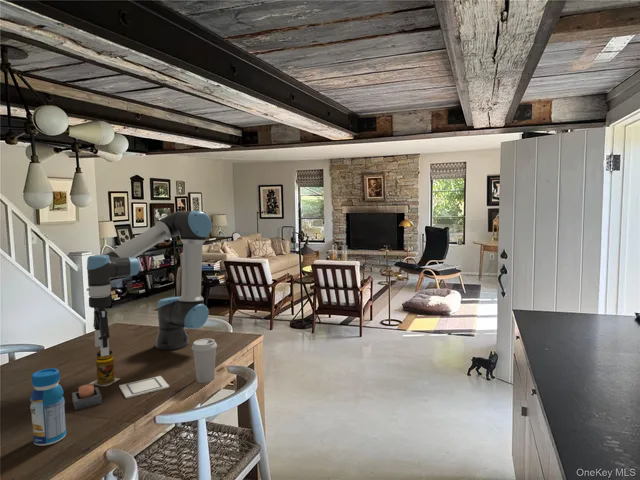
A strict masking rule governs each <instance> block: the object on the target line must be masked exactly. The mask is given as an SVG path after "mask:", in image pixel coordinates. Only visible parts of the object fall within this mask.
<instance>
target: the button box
mask: <svg viewBox="0 0 640 480" xmlns="http://www.w3.org/2000/svg"><path fill="white" fill-rule="evenodd" d="M71 396H72V404H73V408H74V409H75V410H74V411H77V410H82V409H84V408H89V407H94V406H97V405H100V404H101V405H102V404H103V402H102V400H103V399H102V393H101V391H100V390H99V387H98V386H96V387H94V395H93V396H90V397H86V398H79V390H78V391H75V392H71Z"/></svg>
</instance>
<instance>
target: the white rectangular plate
mask: <svg viewBox="0 0 640 480" xmlns="http://www.w3.org/2000/svg"><path fill="white" fill-rule="evenodd" d="M118 388H119V389H120V391H121V393H122V395H123V396H124V397H125V399H129V398H133V397H134V398H135V397H137V396H142V395H146V394H150V393H154V392H158V391H162V390H165V389H170V384H168V383H167V382H166V380H165V379H164V378H163V377H162V376H161V375H158V376H154V377H150V378H145V379H141V380H137V381H133V382H128V383H123V384H119V386H118ZM149 392H150V393H149Z"/></svg>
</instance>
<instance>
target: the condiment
mask: <svg viewBox="0 0 640 480" xmlns="http://www.w3.org/2000/svg"><path fill="white" fill-rule="evenodd" d="M95 363H96V376H97V377H96V378H97V379H95V380H94V381H93V380H92V381H91V382H90V383H88V384H93V385H94V386H99V387H107V386H110V385H112V384H113V383H116V382H117V381H119V380H121V378H119V377H116V376H115V373H116V372H115V358H114V357H113V351H112V350H111V349H109V355H107V356H102V357H101V350H99V351H98V352H96V361H95Z"/></svg>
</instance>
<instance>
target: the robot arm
mask: <svg viewBox="0 0 640 480" xmlns="http://www.w3.org/2000/svg"><path fill="white" fill-rule="evenodd" d="M212 225H213V224H212V221H211V218H210V216H209V215H208V214H207V213H206V212H203V211H199V210H179V211H175V212H173V213H169V215H167V216H165V217H163V218H161V219H160V220H158V221H155V223H154V226H152V227H150V228H149V229H147V230H145V231H143V232H142V233H140V234H138V235H137V236H134V237H133V238H131V239H129V240H128V241H125V242H124V243H123V244H121V245H120V246H118V247H116V248H114V249H113V250H111V251H109V252H107V253H105V254H96V255H95V254H93V255H89V256H88V257H87V260H86V269H87V271H86V272H87V287H88V288H86V291H87V292H88V296H89V297H88V307H89V308H91V309H93V310H94V311H93V329H94V346H95V348H99V347H100V351H101V357H102V356H107V355H109V350H110V341H109V338H110V336H111V335H110V329H109V320H108V311H107V310H106V307H110V306H111V304H112V297H111V294H112V290H111V286H112V285H111V280H112V279H119V278H125V277H126V278H128V277H132V276H137V275H138V274H139V272H140V268H141V267H140V265H141V264H140V262H139V259H138V258H137V257H138V256H140V255H141V254H143V253H144V252H146V251H148V250H149V249H152V248H153V247H154V246H156V245H157V244H160V243H161V242H162V241H164V240H166V241H167V240H168V241H169V240H170V239H171V238H174V237H178V236H179V240H180V242H181V243H182V245H183V247H182V269H181V272H182V273H181V292H180V293H181V295H180V296H171V297H167V298H166V297H165V298H162V299H159V301H158V302H157V317H158V321H157V322H158V333H157V336H156V338H155V339H156V340H155V348H156V349H157V350H161V351H162V350H163V351H172V350H178V349H181V348H185V347H187V346H188V345H189V344H190V343H189V340H190V339H189V336H188V334H187V331H186V329H189V330H197V329H200V328H202V327H203V326H204V325H205V324H206V323H207V321H208V318H209V315H210V311H209V308H208V306H207V305H205V302H204V301H205V300H204V297H203V296H202V294H201V293H202V272H203V271H202V267H203V244H204V243H205V242H206V241H207V236H209V235H210V234H211V232H212V228H213V227H212Z"/></svg>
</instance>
